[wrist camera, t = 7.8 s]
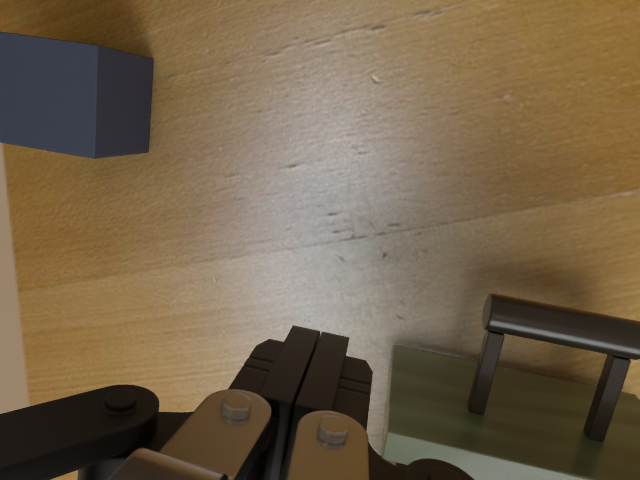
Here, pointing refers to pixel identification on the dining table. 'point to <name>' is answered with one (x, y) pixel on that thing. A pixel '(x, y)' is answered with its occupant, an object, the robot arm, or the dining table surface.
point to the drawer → (518, 402)
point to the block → (73, 97)
